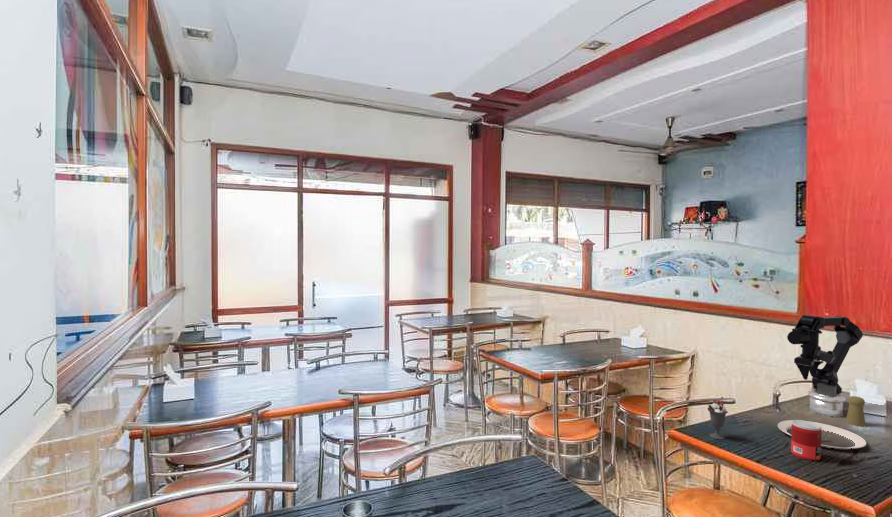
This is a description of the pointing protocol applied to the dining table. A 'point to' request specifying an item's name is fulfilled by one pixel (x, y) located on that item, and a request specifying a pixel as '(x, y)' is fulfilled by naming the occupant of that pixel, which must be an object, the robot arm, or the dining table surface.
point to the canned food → (806, 440)
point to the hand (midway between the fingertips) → (809, 378)
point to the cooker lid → (826, 393)
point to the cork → (856, 411)
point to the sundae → (717, 418)
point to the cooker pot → (826, 407)
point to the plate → (855, 438)
